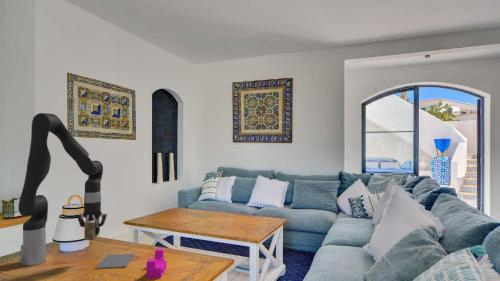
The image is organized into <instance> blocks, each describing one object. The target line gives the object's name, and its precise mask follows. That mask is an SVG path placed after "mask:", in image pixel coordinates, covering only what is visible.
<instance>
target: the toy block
mask: <svg viewBox="0 0 500 281" xmlns="http://www.w3.org/2000/svg"><path fill="white" fill-rule="evenodd" d="M167 263H168V262H167V260H165V249H164V248H160V249H159V248H156V249H155V250H154V258H153V259H152V258H151V259H148V260H146V279H162V277H163V275H164V273H165V272H166V270H167V265H168V264H167Z"/></svg>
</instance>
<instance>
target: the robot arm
mask: <svg viewBox="0 0 500 281" xmlns="http://www.w3.org/2000/svg"><path fill="white" fill-rule="evenodd" d="M30 132H31V135H30V137H31V138H30V146H29V153H28V158H27V165H26V171H25V172H26V173H25V177H24V182H23V187H22V191H21V193H20V197H19V202H18V208H17V209H18V212H19V215H21V216H22V217H30V218H29V219H28V220H26V221H25V222H24V223H23V224H22V244H21V245H20V265H21V266H25V267H30V266H31V267H32V266H35V265H39V264H42V263H44V262H46V257H47V254H46V252H47V251H46V246H47V245H46V242H47V240H46V233H47V232H46V231H47V230H46V226H47V225H46V224H47V222H48V217H49V216H48V214H49V213H48V212H49V202H48V199H47V197H46V196H45V195H43V194H38V195H37V191H38V189H39V187H40V185H41V184H42V182H43V181H44V180H45V179H46V177H47V176H48V174H49V172H50V168H51V163H52V162H51V161H52V155H51V152H50V150H49V147H48V139H49V138H48V137H49V133H51V134H53V135H54V136H55V137H56V138H57V139H58V140H59V141H60V143H61V145H62V148H63V149H64V151H65V153H67V155H69V157H70V158H72V160H73V161H74V162H75V163H76V165H77V166H78V168H79V169H80V171H81V172H82V173H83V174H84V175H87V176H88V177H87V180H85V182H84V195H83V213H80V214H77V215H76V217H77V220H78V222H79V227H80V228H83V229H85V221H86V220H95V224H96V234H95V235H98V234H99V235H100V232H101V227H102V226H104V225H105V223H106V219H107V216H108V214H107V213H103V212H102V193H101V190H102V188H101V187H102V186H101V181H102V179H103V173H104V167H103V163H102V162H101V161H99V160H92V159H91V158H90V157H89V156H90V153H89V152H88V151H87V149H86V148H85V147H84V146H82V145H81V143H79V142H78V141H77V140H76V138H74V136H73V135H72V134H71V133H70V131H69V130H68V129H67V127H66V126H65V124H64V122H63V121H62V120H61V119H60V118H59V117H58V116H57V115H56V114H54V113H49V112H48V113H47V112H45V113H44V112H40V113H39V112H38V113H36V114H35V115H34V116H33V118H32V121H31V131H30ZM99 217H101V221H100V218H99ZM84 219H85V220H84ZM84 232H85V230H84ZM99 235H98V236H99Z"/></svg>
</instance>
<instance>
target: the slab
mask: <svg viewBox="0 0 500 281" xmlns="http://www.w3.org/2000/svg"><path fill="white" fill-rule="evenodd" d="M100 217H101V216H100ZM100 217H99V219H100ZM84 223H85V228H84V231H85V232H84V235H83V236H84V239H83V240H84V241H93V240H95V239H96V238H97V237H98V236H100V233H99V234H98V235H95V234H96V224H95V220H86V219H85V220H84Z"/></svg>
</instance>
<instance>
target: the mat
mask: <svg viewBox="0 0 500 281" xmlns="http://www.w3.org/2000/svg"><path fill="white" fill-rule="evenodd" d="M134 257H135V253H120V254H119V253H118V254H117V253H116V254H107V255H106V256H104V258H103V259H102V260H101V261H100V262H99V263H98V264H97V265H96V266H95V268H94V269H95V270H97V269H98V270H99V269H119V268H120V269H122V268H123V269H124V268H127V267H128V265H129V264H130V262H131V260H132V259H133V258H134Z"/></svg>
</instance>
